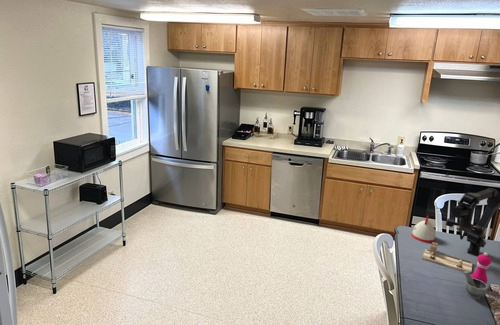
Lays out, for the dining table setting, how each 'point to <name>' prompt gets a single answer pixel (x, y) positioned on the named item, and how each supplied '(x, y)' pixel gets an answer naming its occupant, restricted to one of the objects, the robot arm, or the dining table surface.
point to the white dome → (424, 231)
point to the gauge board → (448, 260)
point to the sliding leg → (433, 248)
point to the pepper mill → (482, 267)
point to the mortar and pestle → (474, 286)
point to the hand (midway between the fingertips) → (461, 239)
